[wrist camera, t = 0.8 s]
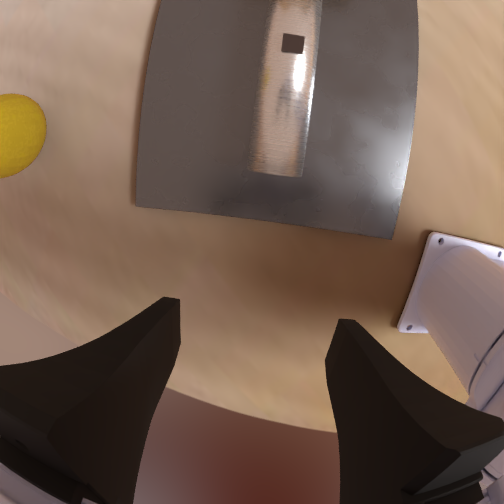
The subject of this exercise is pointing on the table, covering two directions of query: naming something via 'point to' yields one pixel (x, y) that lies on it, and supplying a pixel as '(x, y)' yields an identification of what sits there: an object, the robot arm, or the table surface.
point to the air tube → (285, 87)
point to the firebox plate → (242, 109)
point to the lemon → (19, 133)
